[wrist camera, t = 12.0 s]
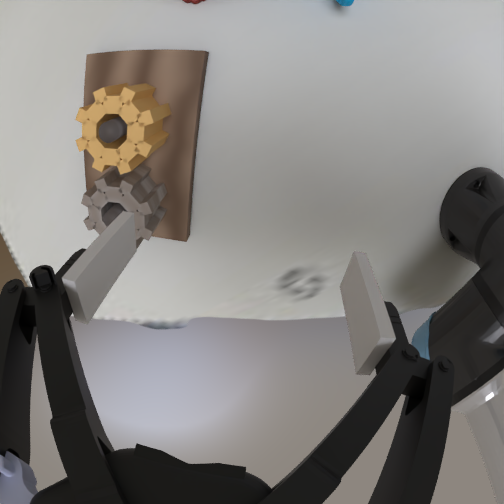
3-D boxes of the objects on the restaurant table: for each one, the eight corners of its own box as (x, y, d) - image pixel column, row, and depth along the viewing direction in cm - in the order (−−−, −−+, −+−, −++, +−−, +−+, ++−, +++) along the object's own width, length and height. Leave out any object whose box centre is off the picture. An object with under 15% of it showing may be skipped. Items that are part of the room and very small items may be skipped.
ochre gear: (175, 84, 30) (157, 87, 25) (167, 161, 35) (150, 178, 30) (102, 83, 29) (76, 88, 24) (100, 154, 35) (76, 169, 30)
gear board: (208, 52, 29) (189, 46, 22) (189, 234, 44) (173, 271, 36) (94, 54, 28) (54, 56, 21) (96, 219, 43) (68, 251, 35)
